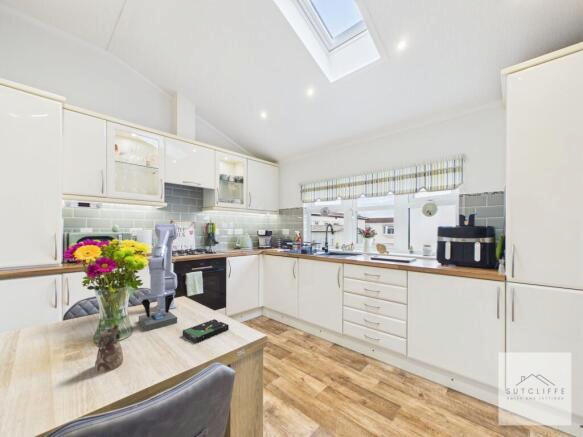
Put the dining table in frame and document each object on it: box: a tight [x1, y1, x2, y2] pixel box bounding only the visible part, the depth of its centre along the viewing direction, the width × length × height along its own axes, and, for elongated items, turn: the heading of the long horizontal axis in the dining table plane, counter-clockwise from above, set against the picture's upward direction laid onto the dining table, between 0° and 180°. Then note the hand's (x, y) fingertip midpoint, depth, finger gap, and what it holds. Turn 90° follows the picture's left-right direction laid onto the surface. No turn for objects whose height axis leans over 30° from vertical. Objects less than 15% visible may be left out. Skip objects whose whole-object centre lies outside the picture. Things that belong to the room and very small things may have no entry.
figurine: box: [94, 324, 124, 374], centre depth 79 cm, size 7×7×12 cm
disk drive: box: [182, 318, 230, 344], centre depth 102 cm, size 10×3×15 cm
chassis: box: [138, 310, 178, 332], centre depth 113 cm, size 14×12×2 cm
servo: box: [152, 311, 164, 320], centre depth 112 cm, size 8×3×5 cm, turn 42°
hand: (157, 314), depth 113 cm, fingers open, 7 cm apart
